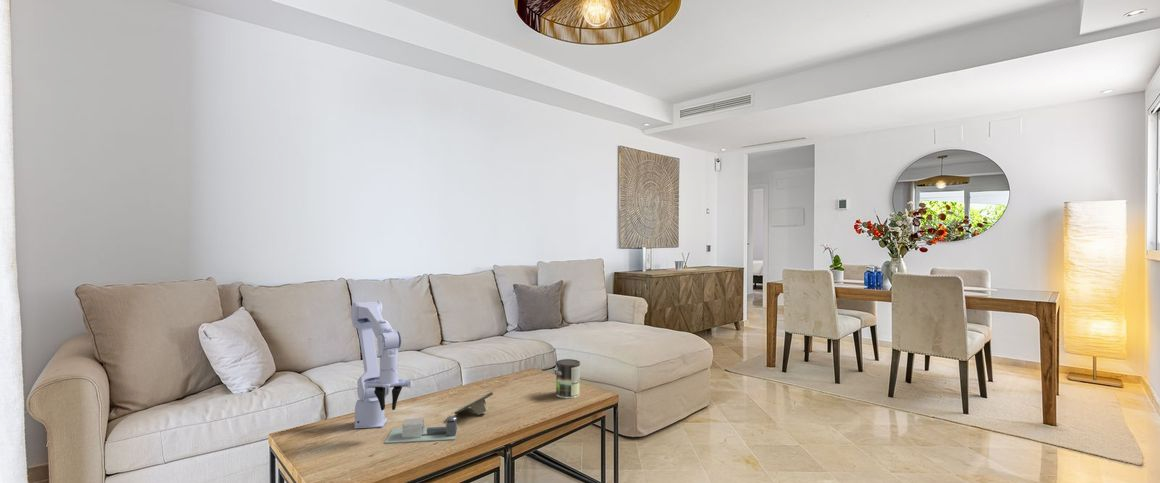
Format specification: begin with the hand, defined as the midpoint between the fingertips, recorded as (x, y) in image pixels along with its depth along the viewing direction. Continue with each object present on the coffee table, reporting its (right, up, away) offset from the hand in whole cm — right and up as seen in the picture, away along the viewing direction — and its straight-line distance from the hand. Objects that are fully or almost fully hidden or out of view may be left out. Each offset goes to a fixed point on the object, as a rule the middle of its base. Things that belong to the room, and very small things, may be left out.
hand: (388, 409), depth 160 cm
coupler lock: (+8, -9, +1) cm, 12 cm away
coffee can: (+59, -10, +47) cm, 75 cm away
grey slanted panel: (+23, -10, +22) cm, 33 cm away
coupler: (+17, -9, +3) cm, 20 cm away
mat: (+11, -10, +3) cm, 15 cm away
